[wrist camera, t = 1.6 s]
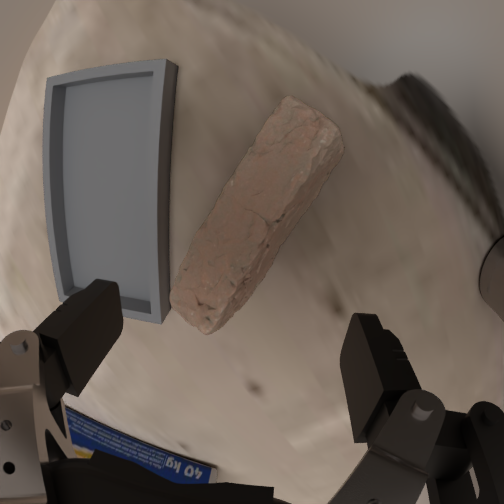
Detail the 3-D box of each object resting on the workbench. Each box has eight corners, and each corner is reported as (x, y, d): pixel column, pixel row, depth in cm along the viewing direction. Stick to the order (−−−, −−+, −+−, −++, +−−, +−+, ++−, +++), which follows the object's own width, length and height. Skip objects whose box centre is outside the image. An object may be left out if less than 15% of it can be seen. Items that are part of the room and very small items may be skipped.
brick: (283, 88, 16) (351, 127, 16) (304, 124, 24) (351, 153, 23) (154, 300, 21) (204, 343, 20) (205, 277, 29) (244, 308, 28)
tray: (178, 66, 23) (166, 58, 20) (170, 308, 32) (161, 324, 29) (64, 80, 23) (46, 77, 21) (73, 289, 32) (59, 301, 29)
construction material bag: (223, 464, 43) (193, 614, 15) (210, 485, 47) (183, 608, 19) (15, 372, 42) (-64, 473, 14) (26, 404, 46) (-36, 496, 18)
